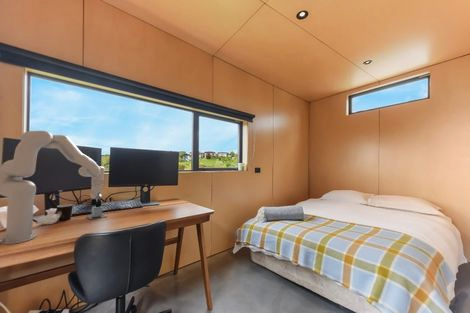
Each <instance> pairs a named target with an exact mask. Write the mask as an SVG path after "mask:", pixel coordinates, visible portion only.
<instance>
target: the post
mask: <svg viewBox="0 0 470 313" xmlns="http://www.w3.org/2000/svg"><path fill="white" fill-rule="evenodd" d="M107 217H108V216H107V215H105V214H103V213H102V216H98V217H93V216H92V215H87V216H86V218H88V220H90V221H91V220H98V219H104V218H107Z"/></svg>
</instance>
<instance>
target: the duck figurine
mask: <svg viewBox="0 0 470 313" xmlns="http://www.w3.org/2000/svg"><path fill="white" fill-rule="evenodd" d="M56 211H57V208H56V209H55V208H49V209H46V210H45V212H46V213H47V214H46V215H43V216H41V217H39V218H38V219H37V224H38V225H39V226H41V225H52V224H55V223H57V222H58V221H59V220H58V219H59V218H60V214H57V213H56Z"/></svg>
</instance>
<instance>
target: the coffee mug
mask: <svg viewBox="0 0 470 313" xmlns="http://www.w3.org/2000/svg"><path fill="white" fill-rule="evenodd" d="M73 207H74V204H71V203H70V204H69V203H65V204H60V205H57V206H56V207H55V208H54V209H57V210H56V213H55V214H60V218H59V219H58V220H57V221H58V222H66V221H67V222H68V221H70V220H71V218H72V213H73Z"/></svg>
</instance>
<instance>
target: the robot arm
mask: <svg viewBox="0 0 470 313" xmlns="http://www.w3.org/2000/svg"><path fill="white" fill-rule="evenodd" d="M42 148H44V149H45V148H46V149H57V150H58V151H59V152H60V153H61V154H62V155H63V156H64V157H65V158H66V160H68V161H70V162H71V163H74V164H76V165H80V166H81V167H79V169H78V174H79V175H80V176H82V177H88V178H89V177H91V184H90V185H91V190H90V194H89V195H90V196H89V197H90V198H91V204H90V205H91V206H96V208H97V207H101V206H102V198H103V186H104V185H105V184H104V183H105V182H104V180H105V167H104V166H99V165H98V164H97V162H96V161H95V160H94V159H92V158H91V157H89V155H88V156H87V155H86V154H84V153H83V152H82V151H81V150H80V149H79V147H77V146H76V144H75V143H74V141H72V139H71V138H70V137H69V136H67V135H63V134H57V135H56V134H54V135H53V134H52V133H51V132H49V131H47V130H28V131H27V130H26V131H25V132H23V133H22V134H21V136H20V141H19V142H18V144H17V145H16V148H15V150H14V154H13V159H9V160H6V161H5V162H3V163H2V164H1V165H0V196H3V197H7V198H9V200H8V203H7V207H6V227H5V228H6V230H5V232H4V233H3V234H1V235H0V243H1V244H2V245H14V244H20V243H25V242H29V241H31V240H34V239H35V238H36V237H37V233H36V232H35V233H34V232H33V229H34V228H33V227H34V226H33V225H34V221H33V220H34V203H35V197H36V193H37V186H36V184H35V183H34V182H33V181H31V180H25V179H23V178H29V177H32V176H33V175H34V174H35V172H36V167H37V166H36V165H37V157H38V153H39V152H40V150H41V149H42Z"/></svg>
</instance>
